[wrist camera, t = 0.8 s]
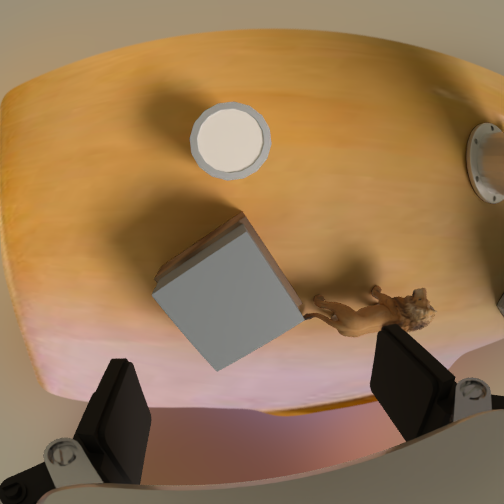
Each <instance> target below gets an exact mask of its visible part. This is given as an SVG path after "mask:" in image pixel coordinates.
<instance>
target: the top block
mask: <svg viewBox="0 0 504 504" xmlns="http://www.w3.org/2000/svg"><path fill="white" fill-rule="evenodd" d="M152 296H153V298H154V299H155V300H156V301H157V303H158V304H159V305H160V306H161V308H162V309H163V310H164V311H165V313H166V314H167V315H168V316H169V317H170V319H171V320H172V321H173V322H174V324H175V325H176V326H177V327H178V328H179V329H180V331H181V332H182V333H183V334H184V335H185V337H186V338H187V339H188V340H189V341H190V342H191V343H192V345H193V346H194V347H195V348H196V349H197V350H198V351H199V353H200V354H201V355H202V356H203V357H204V358H205V359H206V360H207V361H208V363H209V364H210V365H211V366H212V367H213V368H214V369H215V370H216V371H219V370H221V369H223V368H225V367H226V366H228V365H230V364H232V363H234V362H235V361H237V360H239V359H241V358H243V357H244V356H246V355H248V354H250V353H251V352H253V351H255V350H256V349H258V348H260V347H262V346H263V345H265V344H267V343H268V342H270V341H272V340H273V339H275V338H277V337H278V336H280V335H282V334H283V333H285V332H286V331H288V330H290V329H291V328H293V327H295V326H296V325H298V324H299V323H301V322H302V321H304V320H305V319H304V318H303V316H302V314H301V312H300V311H299V309H298V307H297V305H296V304H295V302H294V300H293V299H292V297H291V296H290V294H289V293H288V291H287V290H286V288H285V287H284V285H283V284H282V282H281V281H280V279H279V278H278V276H277V274H276V273H275V271H274V270H273V268H272V267H271V265H270V264H269V262H268V261H267V259H266V258H265V256H264V255H263V253H262V252H261V250H260V249H259V247H258V246H257V244H256V243H255V241H254V239H253V238H252V236H251V235H250V233H249V232H248V230H247V229H246V227H245V226H244V224H242V225H240V226H239V227H237V228H236V229H234V230H233V231H231V232H230V233H228V234H227V235H225V236H223V237H222V238H220V239H219V240H217V241H216V242H214V243H213V244H211V245H210V246H208V247H207V248H205V249H204V250H202V251H201V252H199V253H198V254H196V255H195V256H193V257H192V258H191V259H189V260H188V261H186V262H185V263H183V264H182V265H180V266H179V267H177V268H176V269H174V270H173V271H171V272H170V273H168V274H167V275H165V276H164V277H163V278H161V279H160V280H159V281H158V283H157V285H156V287H155V289H154V291H153V293H152Z"/></svg>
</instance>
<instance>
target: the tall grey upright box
mask: <svg viewBox="0 0 504 504" xmlns="http://www.w3.org/2000/svg"><path fill="white" fill-rule="evenodd" d="M497 307H498V308H499V310H500V311H501V313H502V314H503V316H504V294H503V296H502V298H501V299H500V300H499V302H498V305H497Z"/></svg>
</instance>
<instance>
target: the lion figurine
mask: <svg viewBox="0 0 504 504" xmlns="http://www.w3.org/2000/svg"><path fill="white" fill-rule="evenodd" d="M380 292H381V288H380V287H379V286H375V287H374V288H373V290H372V296H373V297H375V298H376V299H378V300H379V304H377V305H373V306H368V307H364V308H361V309H359V310H358V311H354V310H353V309H352V308H350V307H349V306H346V305H344V304H341V303H337V302H327V301H324V300H325V299H324V297H323V296H322V295H317V296H315V298H314V303H315V305H317V306H318V307H320V308H326V309H329V310H331V311H332V312H334V313H335V314H334V315H333V317H332V318H331V319H329V318H328V317H326V316H324V315H321V314H319V313H311V314H306V315H304V316H303V318H304V319H305V320H307V319H311V318H313V317H317V318H319V319H321V320H323V321H324V322H326V323H327V324H329V325H331V326H332V327H334V328H336V329H337V330H338V332H339V333H340V334H341V335H343V336H348V337H359V336H361V335H364V334H367V333H373V332H379V331H381V328H382V327H383V326H387V325H391V324H398V325H399V326H400V327H401V328H402V329H403V330H404V331H406V332H410V331H415V330H418V329H419V330H420V329H422V328H424V327H426V326H428V324H429V323H430V322H432V320H433V317H434V316H435V313H436V312H437V311H435V310H434V309H433V307H432V306H430V302H429V301H428V300H427V298H426V289H425V288H421V289H415V290H414V291H413V294H412V296H406V297H405V298H402V297H399V296H398V297H394V298H391V297H389V296H387V295H385V294H382V293H380Z"/></svg>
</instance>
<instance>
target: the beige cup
mask: <svg viewBox="0 0 504 504" xmlns="http://www.w3.org/2000/svg"><path fill="white" fill-rule="evenodd" d="M190 145H191V153H192V155H193V157H194V159H195V160H196V162H197V164H198V165H199V167H200V168H201V169H203V170H204V171H205V172H207V173H208V174H209V175H211V176H212V177H216V178H220V179H224V180H235V179H243V178H245V177H247V176H249V175H250V174H252V173H254V172H256V171H257V170H258V169H259V168H260V167H261V165H262V164H263V163H264V162H265V161H266V159H267V157H268V154H269V150H270V147H271V136H270V129H269V127H268V125H267V123H266V122H265V120H264V118H263V116H262V115H261V114H259V113H258V112H257V111H256V110H254V109H253V108H252V107H250V106H248V105H244V104H241V103H237V102H227V103H219V104H216V105H215V106H213V107H211V108H209V109H207V110H205V111H204V112H203V113H202V114H201V116H200V117H199V118H198V119H197V120H196V122H195V123H194V125H193V129H192V132H191V135H190Z"/></svg>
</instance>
